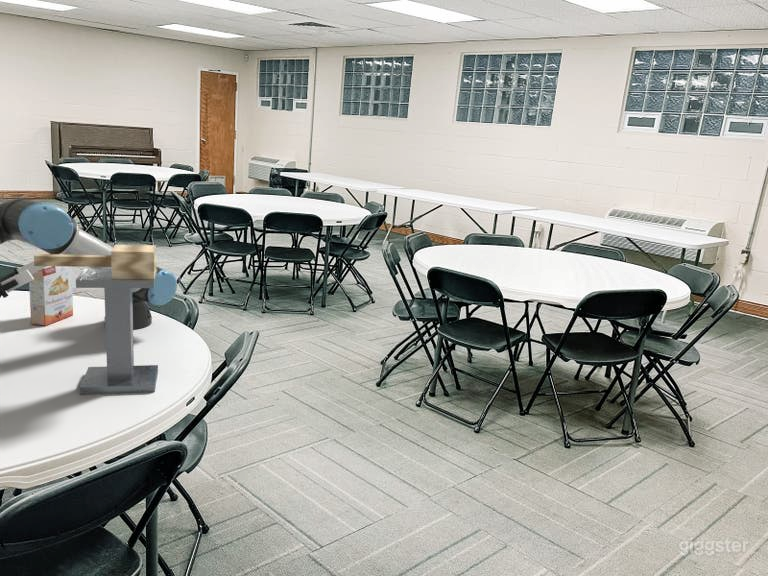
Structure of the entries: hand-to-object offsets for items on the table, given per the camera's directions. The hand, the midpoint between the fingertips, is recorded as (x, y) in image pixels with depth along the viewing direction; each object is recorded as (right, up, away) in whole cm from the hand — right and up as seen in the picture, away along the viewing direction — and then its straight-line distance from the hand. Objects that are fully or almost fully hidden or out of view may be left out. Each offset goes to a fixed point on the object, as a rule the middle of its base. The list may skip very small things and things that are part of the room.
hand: (37, 267), depth 156 cm
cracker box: (-27, -16, +58) cm, 66 cm away
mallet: (+13, -2, +5) cm, 14 cm away
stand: (+15, -31, +13) cm, 37 cm away
